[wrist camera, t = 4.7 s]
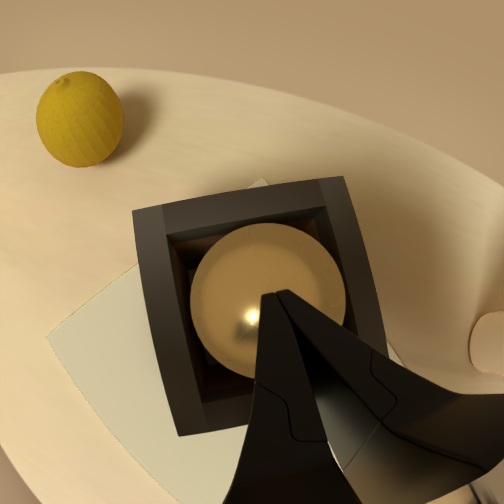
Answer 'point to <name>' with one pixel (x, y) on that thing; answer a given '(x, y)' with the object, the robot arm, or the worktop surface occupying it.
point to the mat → (144, 392)
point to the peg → (258, 287)
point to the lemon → (80, 119)
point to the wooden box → (190, 256)
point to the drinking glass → (488, 344)
